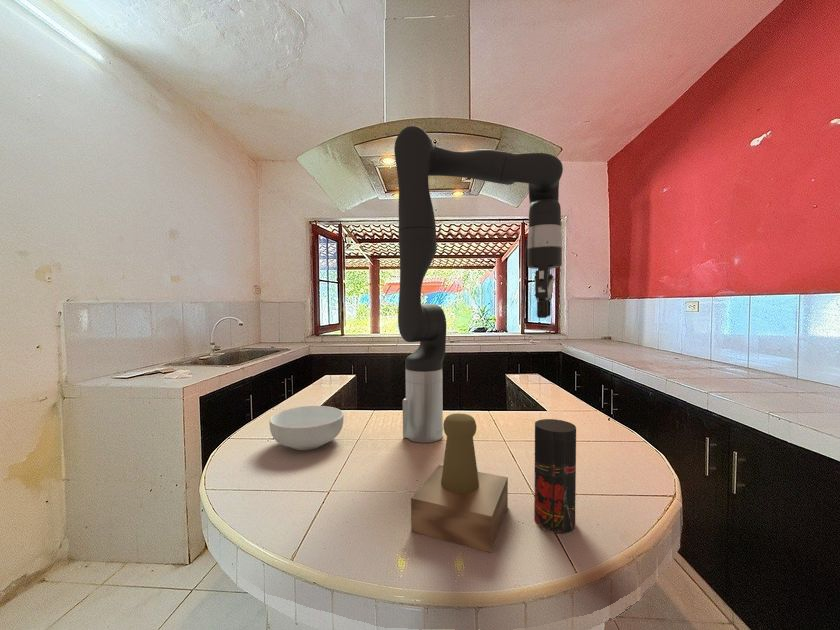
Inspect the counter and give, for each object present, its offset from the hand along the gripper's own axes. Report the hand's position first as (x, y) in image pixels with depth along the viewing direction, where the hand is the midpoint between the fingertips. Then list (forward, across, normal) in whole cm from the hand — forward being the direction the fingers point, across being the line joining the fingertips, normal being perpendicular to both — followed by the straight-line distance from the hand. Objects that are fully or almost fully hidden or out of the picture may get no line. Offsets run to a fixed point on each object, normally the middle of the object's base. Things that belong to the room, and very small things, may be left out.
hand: (544, 317), depth 86 cm
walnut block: (+30, -36, +9) cm, 48 cm away
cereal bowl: (+30, -21, +52) cm, 64 cm away
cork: (+25, -35, +10) cm, 44 cm away
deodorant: (+30, -31, -4) cm, 44 cm away
